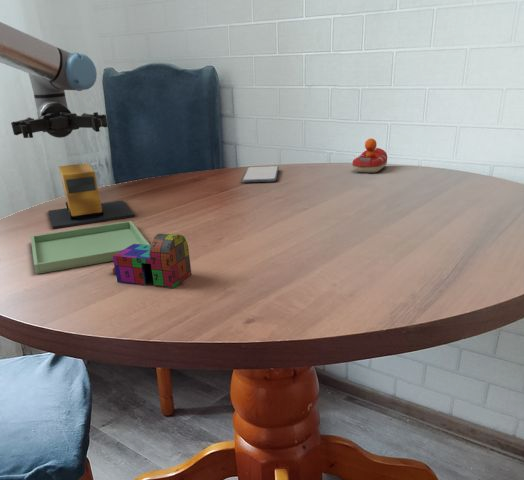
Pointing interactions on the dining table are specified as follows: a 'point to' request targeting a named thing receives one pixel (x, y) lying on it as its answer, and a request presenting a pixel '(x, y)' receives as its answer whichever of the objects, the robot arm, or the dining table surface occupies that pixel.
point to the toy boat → (370, 158)
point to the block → (154, 261)
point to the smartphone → (261, 174)
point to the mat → (90, 215)
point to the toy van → (80, 190)
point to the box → (83, 246)
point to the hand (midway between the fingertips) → (63, 127)
